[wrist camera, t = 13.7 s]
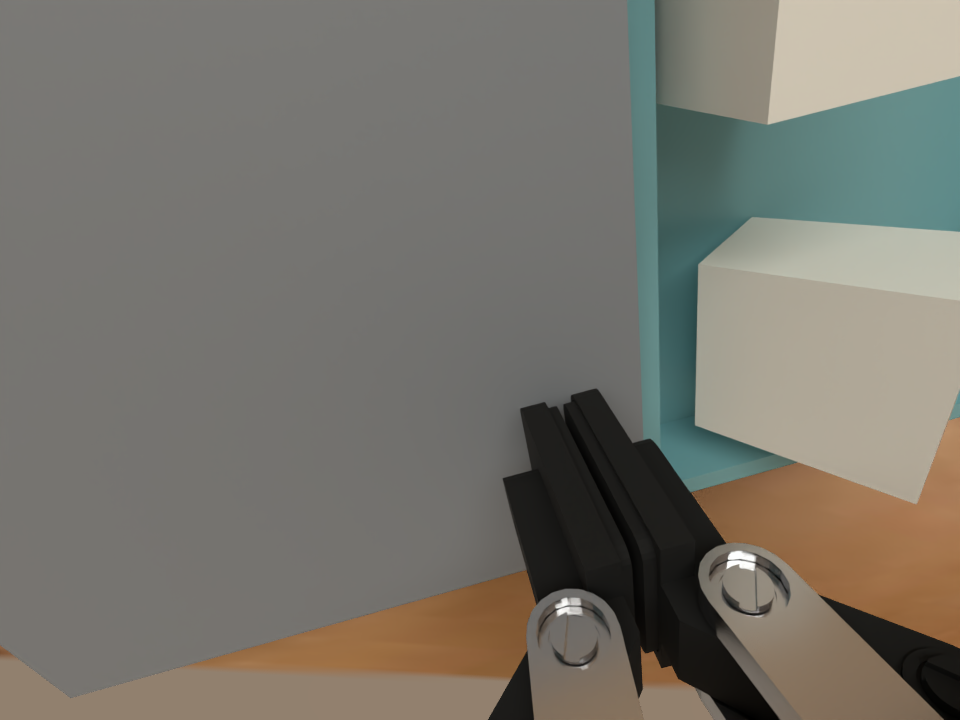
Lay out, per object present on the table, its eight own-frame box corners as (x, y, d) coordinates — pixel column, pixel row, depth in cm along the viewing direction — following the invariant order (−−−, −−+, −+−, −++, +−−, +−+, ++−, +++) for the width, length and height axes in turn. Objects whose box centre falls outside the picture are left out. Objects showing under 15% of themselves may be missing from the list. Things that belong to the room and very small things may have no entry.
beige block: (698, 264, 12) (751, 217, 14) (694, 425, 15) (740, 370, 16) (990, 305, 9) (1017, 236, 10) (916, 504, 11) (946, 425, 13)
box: (1232, -567, 8) (1602, -835, 6) (931, 350, 18) (1022, 399, 15) (523, -420, 8) (591, -638, 5) (603, 440, 18) (641, 505, 15)
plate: (505, -415, 8) (598, -762, 5) (595, 442, 18) (646, 535, 14) (-573, -190, 7) (-1384, -394, 4) (131, 569, 17) (70, 698, 14)
